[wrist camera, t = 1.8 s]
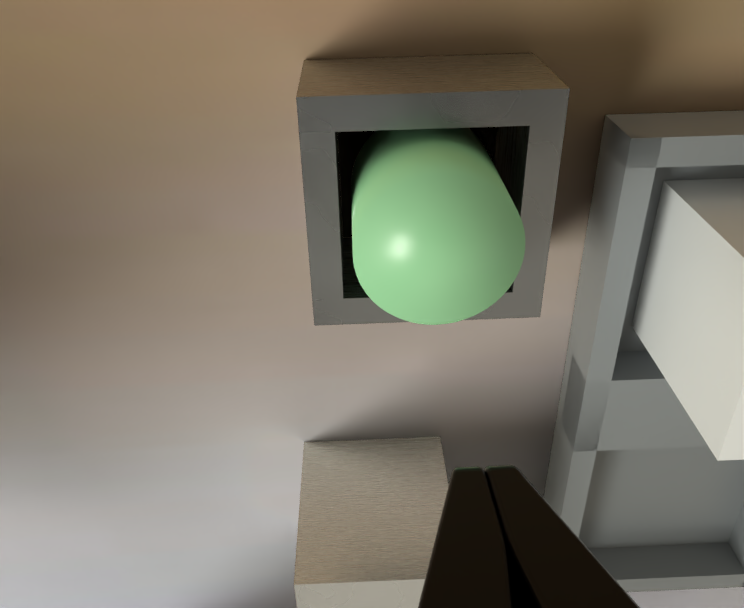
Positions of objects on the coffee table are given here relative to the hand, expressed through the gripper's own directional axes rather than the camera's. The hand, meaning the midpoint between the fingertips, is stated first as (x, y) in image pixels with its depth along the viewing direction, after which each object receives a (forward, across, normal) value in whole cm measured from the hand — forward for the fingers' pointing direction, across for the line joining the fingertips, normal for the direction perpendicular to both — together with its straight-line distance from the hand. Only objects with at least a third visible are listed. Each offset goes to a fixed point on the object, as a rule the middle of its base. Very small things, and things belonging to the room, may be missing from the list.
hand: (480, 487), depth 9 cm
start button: (+11, 0, 0) cm, 11 cm away
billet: (+12, +1, +13) cm, 18 cm away
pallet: (+12, -10, +8) cm, 17 cm away
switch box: (+12, 0, 0) cm, 12 cm away
